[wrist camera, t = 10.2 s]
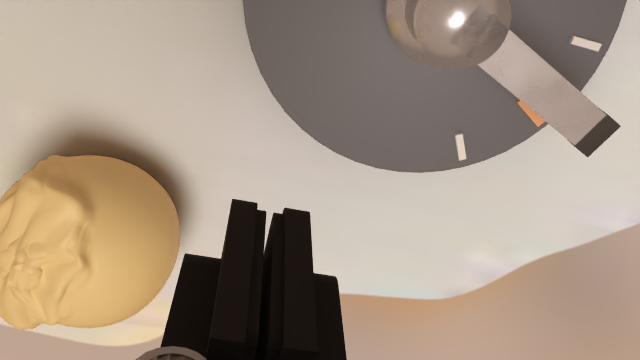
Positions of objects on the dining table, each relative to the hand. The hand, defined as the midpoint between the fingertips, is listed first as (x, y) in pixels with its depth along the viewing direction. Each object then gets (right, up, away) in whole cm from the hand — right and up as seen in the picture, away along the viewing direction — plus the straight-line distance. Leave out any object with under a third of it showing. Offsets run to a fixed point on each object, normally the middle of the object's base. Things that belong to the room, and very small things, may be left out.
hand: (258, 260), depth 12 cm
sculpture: (-15, 0, +31) cm, 35 cm away
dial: (+12, +11, +24) cm, 29 cm away
